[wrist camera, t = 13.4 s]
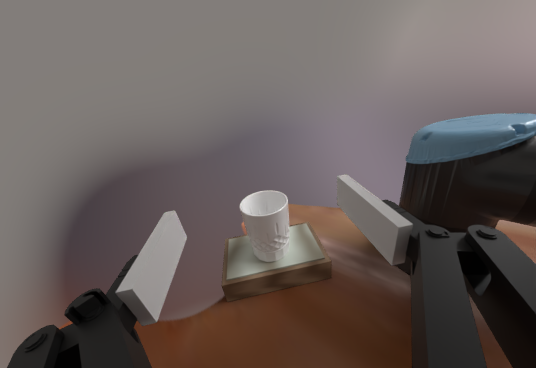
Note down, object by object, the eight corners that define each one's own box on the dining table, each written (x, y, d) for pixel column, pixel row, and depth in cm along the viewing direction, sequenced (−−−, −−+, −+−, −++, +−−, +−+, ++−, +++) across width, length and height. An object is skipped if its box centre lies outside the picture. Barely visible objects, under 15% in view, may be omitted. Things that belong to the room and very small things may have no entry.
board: (309, 236, 43) (308, 220, 41) (331, 277, 33) (331, 259, 31) (229, 253, 42) (225, 237, 40) (227, 301, 32) (221, 284, 30)
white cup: (242, 258, 34) (229, 211, 30) (262, 230, 40) (254, 188, 36) (283, 270, 31) (276, 219, 26) (298, 238, 37) (294, 192, 33)
